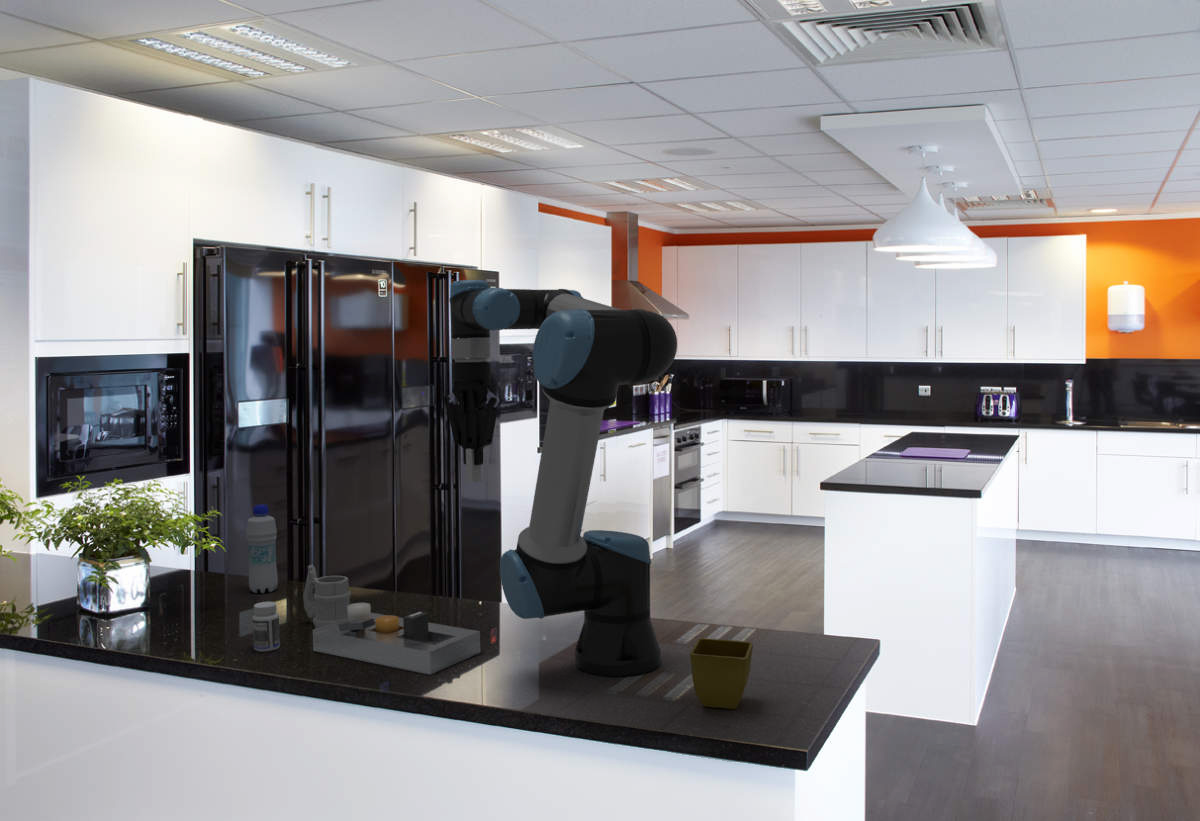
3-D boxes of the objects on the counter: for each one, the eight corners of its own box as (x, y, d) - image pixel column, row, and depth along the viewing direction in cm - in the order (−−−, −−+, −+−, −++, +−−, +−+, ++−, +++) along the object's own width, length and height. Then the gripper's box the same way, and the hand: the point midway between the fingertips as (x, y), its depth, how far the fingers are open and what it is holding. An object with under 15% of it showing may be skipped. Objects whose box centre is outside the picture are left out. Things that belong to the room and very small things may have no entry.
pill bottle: (273, 642, 199) (271, 599, 198) (284, 648, 195) (282, 604, 195) (249, 648, 196) (247, 604, 195) (259, 653, 192) (258, 608, 192)
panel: (480, 652, 191) (479, 628, 191) (430, 674, 179) (429, 648, 179) (366, 631, 205) (365, 608, 205) (313, 650, 193) (312, 626, 193)
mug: (332, 635, 203) (330, 574, 202) (290, 626, 210) (288, 567, 209) (361, 625, 210) (359, 567, 209) (319, 617, 216) (318, 560, 215)
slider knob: (428, 641, 191) (427, 612, 190) (413, 647, 187) (412, 617, 187) (419, 639, 192) (418, 610, 192) (404, 645, 188) (403, 616, 188)
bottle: (285, 589, 240) (282, 503, 239) (261, 596, 234) (258, 507, 233) (265, 586, 244) (262, 501, 242) (241, 592, 238) (238, 505, 237)
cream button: (375, 620, 197) (375, 604, 197) (359, 625, 194) (359, 609, 193) (359, 617, 199) (358, 601, 199) (343, 622, 196) (342, 606, 196)
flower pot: (753, 696, 167) (753, 641, 166) (747, 716, 158) (747, 657, 158) (698, 692, 169) (698, 637, 168) (689, 711, 161) (689, 653, 160)
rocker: (375, 624, 190) (373, 618, 190) (363, 628, 187) (362, 622, 187) (351, 627, 193) (350, 620, 193) (339, 631, 191) (338, 624, 191)
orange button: (403, 633, 194) (403, 617, 194) (388, 638, 190) (388, 622, 190) (386, 629, 196) (386, 614, 196) (371, 635, 192) (370, 619, 192)
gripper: (509, 360, 202) (512, 481, 204) (456, 360, 209) (459, 477, 211) (486, 361, 196) (488, 486, 198) (432, 361, 203) (435, 481, 204)
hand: (473, 481), depth 204 cm, fingers closed
